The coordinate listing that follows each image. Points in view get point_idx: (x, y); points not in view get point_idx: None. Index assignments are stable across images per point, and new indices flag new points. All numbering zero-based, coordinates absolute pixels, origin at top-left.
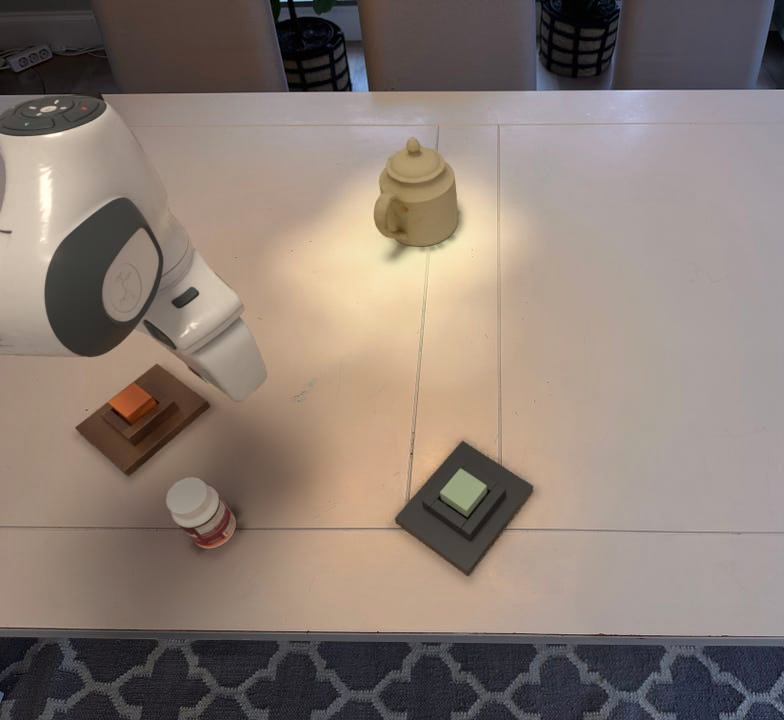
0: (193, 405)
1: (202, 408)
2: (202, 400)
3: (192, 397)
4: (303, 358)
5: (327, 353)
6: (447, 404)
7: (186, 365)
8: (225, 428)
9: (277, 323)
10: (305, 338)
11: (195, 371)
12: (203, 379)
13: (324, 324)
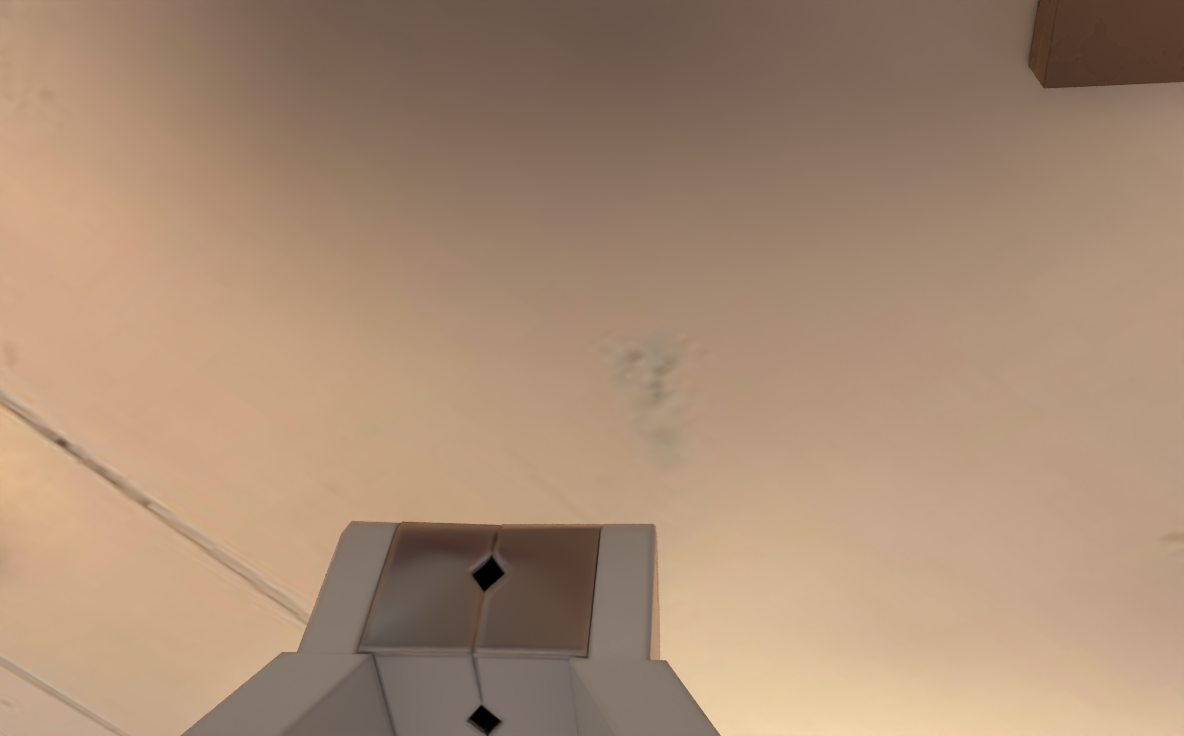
0: (1098, 14)
1: (1042, 32)
2: (1069, 74)
3: (1151, 47)
4: (807, 502)
5: (734, 565)
6: (177, 629)
7: (639, 594)
8: (826, 27)
9: (1071, 558)
10: (884, 567)
11: (451, 615)
12: (349, 567)
13: (864, 642)
